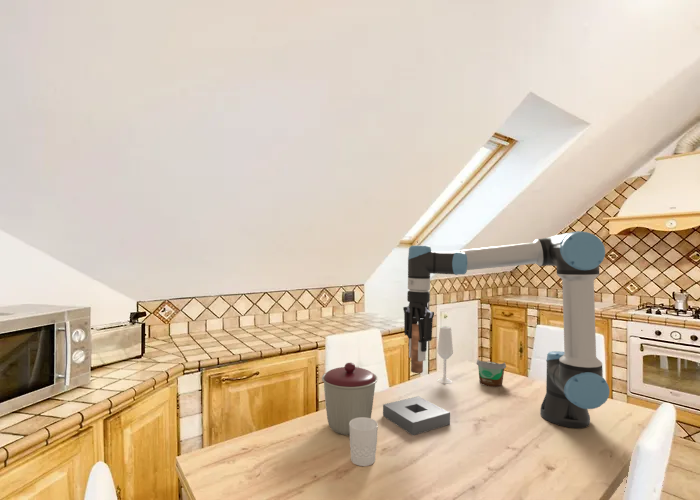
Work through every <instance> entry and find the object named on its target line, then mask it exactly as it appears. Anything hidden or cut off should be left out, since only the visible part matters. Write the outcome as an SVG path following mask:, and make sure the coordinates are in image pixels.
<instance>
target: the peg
mask: <svg viewBox="0 0 700 500" xmlns="http://www.w3.org/2000/svg"><path fill="white" fill-rule="evenodd" d="M423 338H424V337H423ZM419 340H420V335H419V326H418V322H417V324H412V346H411V358H410V372H412V373H413V374H422V373H423V372H424V361H418V342H419Z"/></svg>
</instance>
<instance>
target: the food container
mask: <svg viewBox="0 0 700 500" xmlns="http://www.w3.org/2000/svg"><path fill="white" fill-rule="evenodd" d="M476 365H477V367H478V377H479V383H480V384H481V385H483V386H485V387H489V388H500V387H502V386H503V380H504V373H505V369H506V368H507V365H506V362H503V363H498V362H494V361H485V360H479V359H477V360H476Z"/></svg>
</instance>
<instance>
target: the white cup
mask: <svg viewBox="0 0 700 500" xmlns="http://www.w3.org/2000/svg"><path fill="white" fill-rule="evenodd" d="M378 427H379V424H378V421H376V420H375V419H374V418H372V417H371V418H366V417H359V418H355V419H352V420H351V421H350V422H349V431H350V435H349V447H350V448H349V449H350V462H352V464H354V465H356V466H358V467H359V466H360V467H368V466H372V465H373V464H374V463H375V462H376V451H377V445H378V443H377V442H378Z"/></svg>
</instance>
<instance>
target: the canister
mask: <svg viewBox="0 0 700 500" xmlns="http://www.w3.org/2000/svg"><path fill="white" fill-rule="evenodd" d="M321 380H322V382H323V387H324V390H323V391H324V399H325V401H324V402H325V411H326V418H327V423H328V426H329V427H330V430H332V431H333V432H334V433H336V434H339V435H344V436H350V431H349V422H350V421H351V420H352V419H355V418H359V417H366V418H371V419H372V414H373V413H372V412H373V411H372V410H373V406H374V397H375V389H376V383H377V382H378V380H379V379H378V376H377V375H376V374H375V373H373V372H372V371H370V370H368V369H366V368H362V367H358V366H356V365H355V364H354V363H353V362H346V363H345V365H344V366H342V367H336V368H332V369H330V370H328V371H327V372H325V373H323V374H322V375H321Z"/></svg>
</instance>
